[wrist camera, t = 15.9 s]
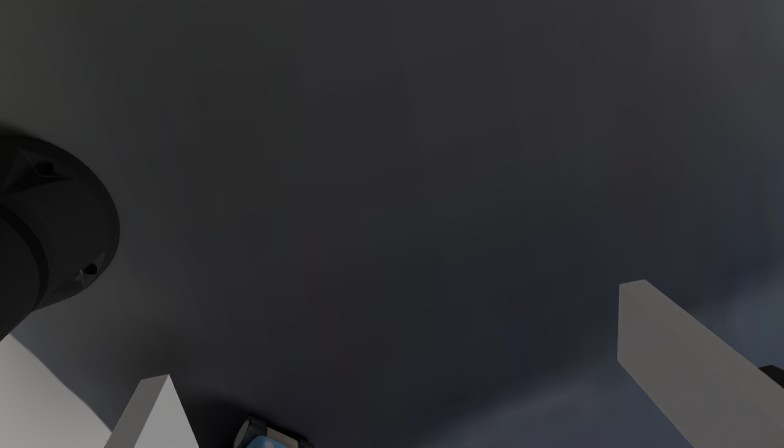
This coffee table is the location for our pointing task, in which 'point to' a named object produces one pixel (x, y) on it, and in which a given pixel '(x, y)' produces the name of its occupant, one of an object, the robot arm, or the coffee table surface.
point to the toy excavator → (264, 437)
